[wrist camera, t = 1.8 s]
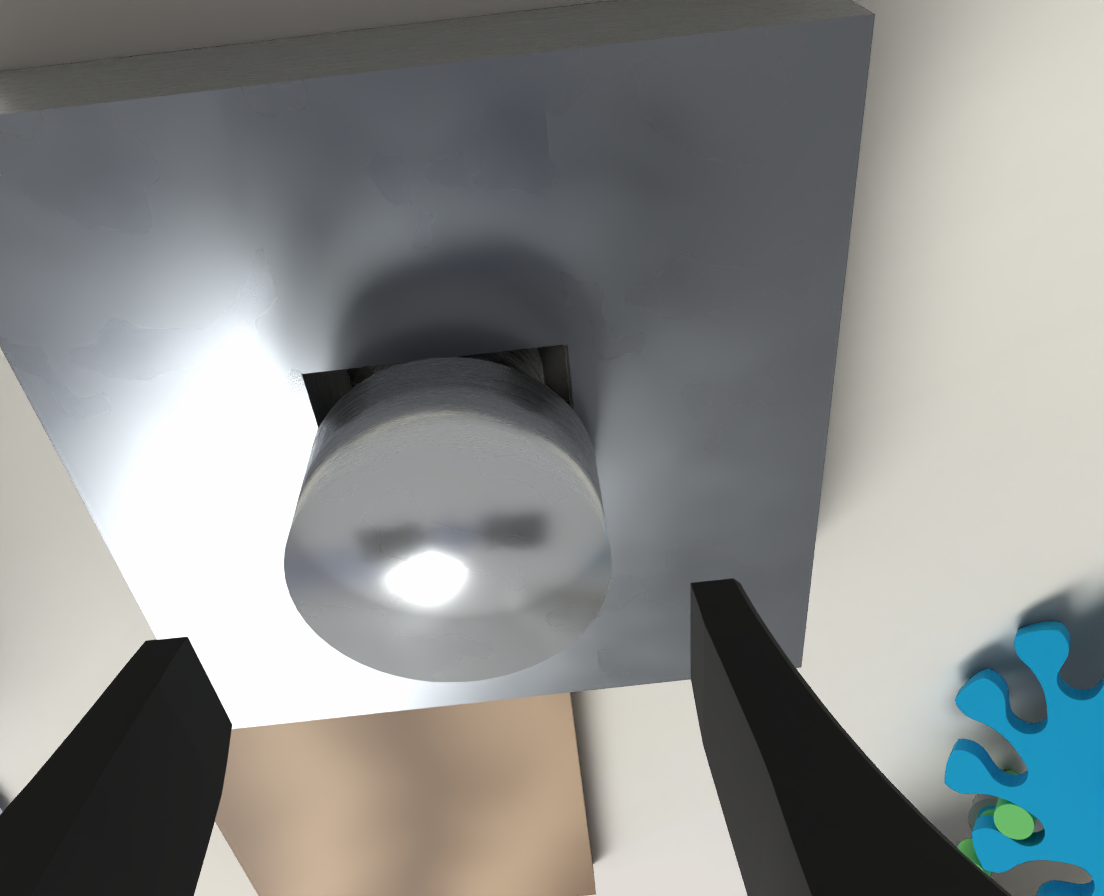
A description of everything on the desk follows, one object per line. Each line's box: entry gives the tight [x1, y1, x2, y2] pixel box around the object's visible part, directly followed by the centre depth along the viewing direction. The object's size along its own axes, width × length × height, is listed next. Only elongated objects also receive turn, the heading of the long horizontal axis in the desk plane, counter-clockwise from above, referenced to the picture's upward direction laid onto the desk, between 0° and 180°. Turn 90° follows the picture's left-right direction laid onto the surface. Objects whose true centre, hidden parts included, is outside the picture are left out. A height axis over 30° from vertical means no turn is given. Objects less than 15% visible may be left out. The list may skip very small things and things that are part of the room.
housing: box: [0, 0, 875, 729], centre depth 18 cm, size 14×14×3 cm
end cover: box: [284, 348, 612, 683], centre depth 17 cm, size 5×5×6 cm
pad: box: [215, 692, 596, 896], centre depth 28 cm, size 11×11×1 cm
